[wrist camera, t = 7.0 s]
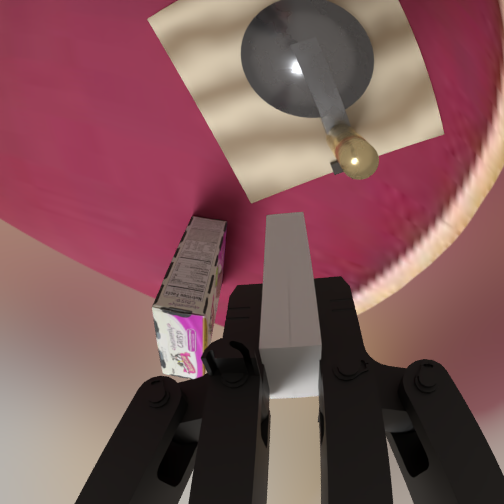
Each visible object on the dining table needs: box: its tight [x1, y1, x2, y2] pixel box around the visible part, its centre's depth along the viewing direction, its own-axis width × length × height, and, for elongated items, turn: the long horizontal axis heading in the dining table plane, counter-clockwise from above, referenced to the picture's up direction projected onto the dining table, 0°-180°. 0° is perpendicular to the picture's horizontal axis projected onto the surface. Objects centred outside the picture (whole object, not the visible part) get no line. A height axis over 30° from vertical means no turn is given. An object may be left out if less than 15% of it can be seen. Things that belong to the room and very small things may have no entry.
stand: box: [147, 0, 444, 203], centre depth 25 cm, size 24×24×3 cm
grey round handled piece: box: [241, 0, 379, 179], centre depth 22 cm, size 18×12×9 cm, turn 24°
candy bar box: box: [152, 216, 227, 379], centre depth 34 cm, size 11×5×16 cm, turn 173°
